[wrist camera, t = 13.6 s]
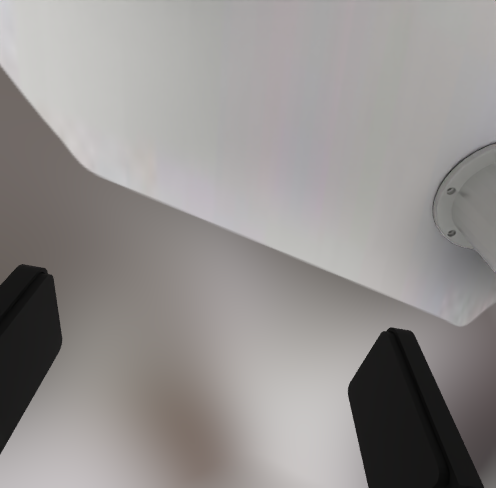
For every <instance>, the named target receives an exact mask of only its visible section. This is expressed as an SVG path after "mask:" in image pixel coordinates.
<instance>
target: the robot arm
mask: <svg viewBox="0 0 496 488" xmlns="http://www.w3.org/2000/svg"><path fill="white" fill-rule="evenodd" d="M433 215H434V220H435V223H436V226H437V227H438V229H439V231H440V232H441V233H442V235H443V236H444V237H445V238H446V239H447V240H449V241H450V242H452V243H453V244H455V245H458V246H460V247H463V248H469V249H475V250H476V251H477V252H478V253H479V254H480V256H481V257H482V258H483V259H484V260H485V261H486V263H487V264H488V265H489V266H490V267H491V268H492V270H493V271H494V272H495V273H496V144H493V145H490V146H487V147H485V148H483V149H481V150H479V151H477V152H475V153H473V154H472V155H470V156H469V157H467V158H466V159H464V160H463V161H462V162H461V163H460V164H458V165H457V166H456V167H455V168H454V169H453V170H452V171H451V172H450V174H449V175H448V176H447V177H446V178H445V180H444V181H443V183H442V184H441V186H440V188H439V190H438V192H437V195H436V197H435V201H434V206H433ZM61 345H62V334H61V328H60V320H59V313H58V307H57V300H56V293H55V286H54V279H53V276H52V275H50V274H48V273H47V270H46V269H45V268H41V267H35V266H29V265H23V264H22V265H19V266H18V267H17V268H16V269H15V270H14V271H13V272H12V273H11V274H10V275H9V276H8V278H7V279H6V280H5V281H4V282H3V283H2V284H1V285H0V454H1V452H2V450H3V449H4V447H5V445H6V443H7V442H8V440H9V438H10V436H11V435H12V433H13V431H14V429H15V427H16V426H17V424H18V422H19V421H20V419H21V417H22V415H23V413H24V412H25V410H26V408H27V407H28V405H29V403H30V401H31V400H32V398H33V396H34V395H35V393H36V391H37V389H38V387H39V386H40V384H41V382H42V381H43V379H44V377H45V375H46V374H47V372H48V370H49V368H50V367H51V365H52V363H53V361H54V359H55V358H56V356H57V354H58V352H59V350H60V348H61ZM348 396H349V401H350V406H351V410H352V415H353V419H354V423H355V428H356V433H357V437H358V442H359V446H360V451H361V456H362V460H363V465H364V469H365V474H366V478H367V483H368V487H369V488H484V486H483V484H482V482H481V480H480V477H479V475H478V473H477V471H476V469H475V466H474V464H473V462H472V460H471V458H470V456H469V454H468V451H467V449H466V447H465V445H464V442H463V440H462V438H461V436H460V434H459V431H458V429H457V427H456V425H455V423H454V421H453V418H452V416H451V414H450V412H449V410H448V407H447V405H446V403H445V401H444V399H443V396H442V394H441V392H440V390H439V388H438V386H437V383H436V381H435V379H434V377H433V375H432V372H431V370H430V368H429V366H428V364H427V362H426V360H425V357H424V355H423V353H422V351H421V348H420V346H419V344H418V342H417V340H416V337H415V335H414V334H413V332H411V331H409V330H403V329H397V328H389V329H388V330H387V331H386V332H385V331H383V332H382V333H381V334H380V336H379V337H378V339H377V340H376V342H375V344H374V345H373V347H372V348H371V350H370V352H369V353H368V355H367V356H366V358H365V360H364V361H363V363H362V364H361V366H360V368H359V369H358V371H357V372H356V374H355V376H354V377H353V379H352V381H351V382H350V384H349V387H348Z"/></svg>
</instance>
